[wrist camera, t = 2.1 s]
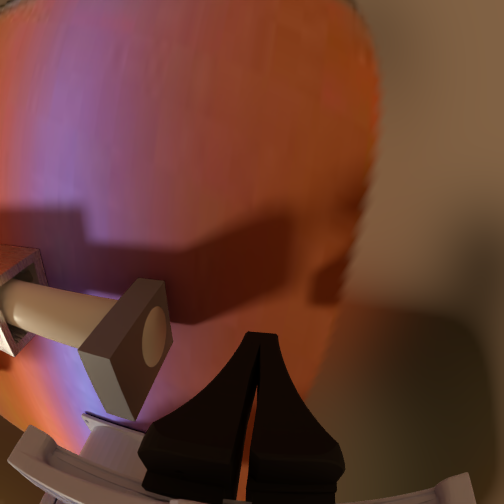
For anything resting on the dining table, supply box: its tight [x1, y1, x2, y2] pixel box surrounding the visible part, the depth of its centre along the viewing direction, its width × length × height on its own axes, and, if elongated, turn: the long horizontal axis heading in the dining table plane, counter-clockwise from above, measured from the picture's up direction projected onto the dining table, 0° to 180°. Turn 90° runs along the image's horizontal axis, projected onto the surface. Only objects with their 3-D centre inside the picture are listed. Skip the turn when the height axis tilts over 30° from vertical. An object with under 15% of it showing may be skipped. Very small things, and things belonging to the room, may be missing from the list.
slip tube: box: [0, 278, 173, 421], centre depth 13 cm, size 23×4×6 cm, turn 88°
